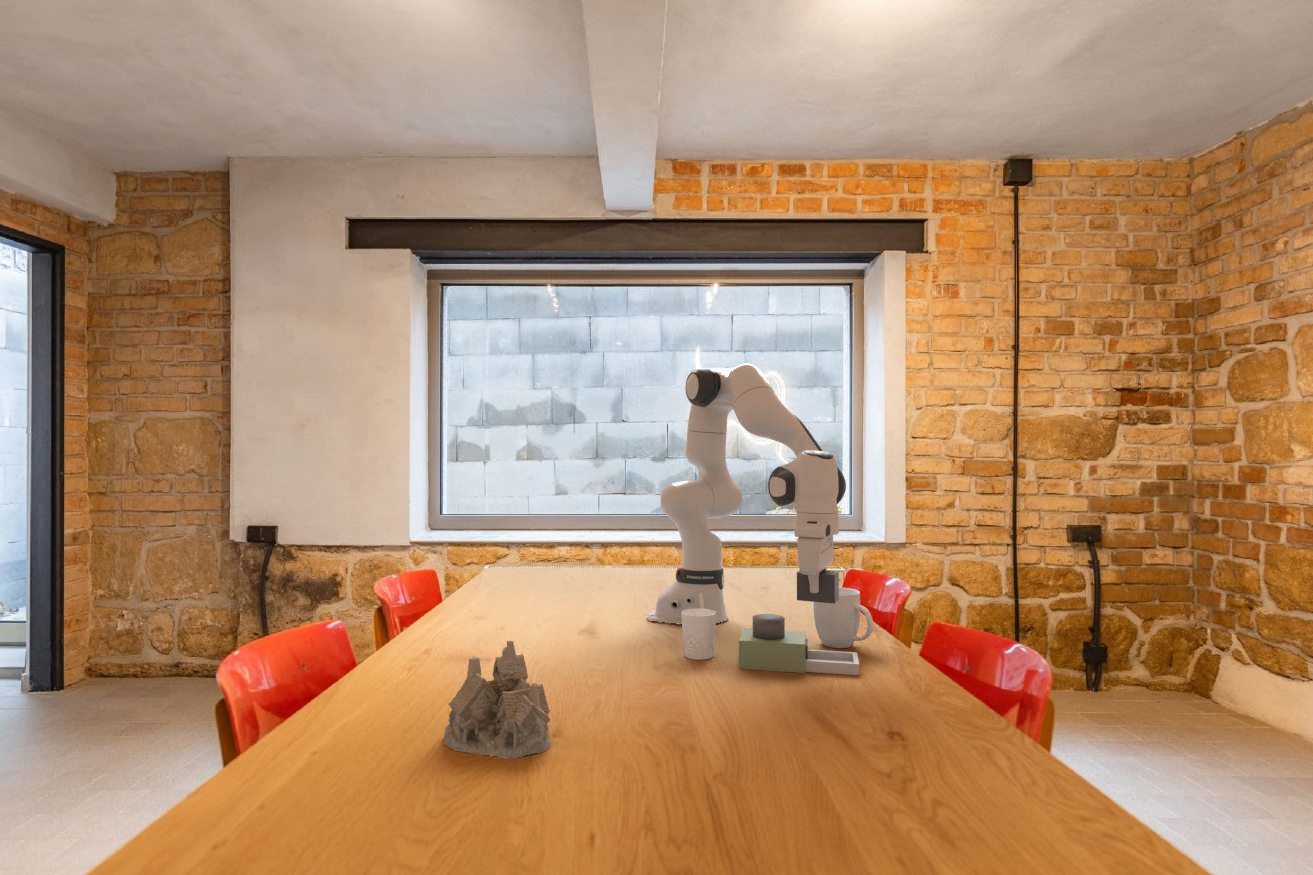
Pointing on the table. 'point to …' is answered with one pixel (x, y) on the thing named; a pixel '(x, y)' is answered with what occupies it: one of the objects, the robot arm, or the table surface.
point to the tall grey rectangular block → (827, 587)
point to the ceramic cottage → (499, 711)
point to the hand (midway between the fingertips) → (817, 589)
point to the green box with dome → (788, 650)
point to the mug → (841, 619)
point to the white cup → (698, 633)
